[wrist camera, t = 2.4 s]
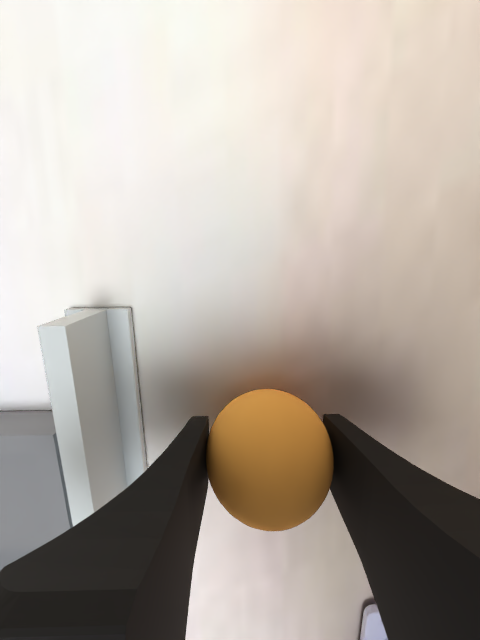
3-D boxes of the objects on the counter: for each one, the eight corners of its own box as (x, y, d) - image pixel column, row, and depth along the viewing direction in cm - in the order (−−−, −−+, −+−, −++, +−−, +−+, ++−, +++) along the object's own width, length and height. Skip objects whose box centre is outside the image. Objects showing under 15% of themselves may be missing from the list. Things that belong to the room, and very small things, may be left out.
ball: (315, 369, 12) (364, 436, 7) (310, 460, 13) (350, 568, 8) (209, 370, 12) (194, 440, 7) (212, 461, 13) (200, 571, 8)
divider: (131, 307, 11) (92, 325, 8) (160, 604, 14) (141, 693, 11) (70, 308, 11) (9, 326, 8) (114, 605, 14) (83, 694, 11)
